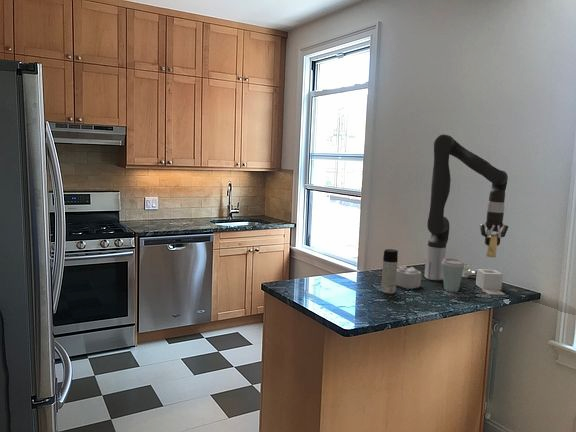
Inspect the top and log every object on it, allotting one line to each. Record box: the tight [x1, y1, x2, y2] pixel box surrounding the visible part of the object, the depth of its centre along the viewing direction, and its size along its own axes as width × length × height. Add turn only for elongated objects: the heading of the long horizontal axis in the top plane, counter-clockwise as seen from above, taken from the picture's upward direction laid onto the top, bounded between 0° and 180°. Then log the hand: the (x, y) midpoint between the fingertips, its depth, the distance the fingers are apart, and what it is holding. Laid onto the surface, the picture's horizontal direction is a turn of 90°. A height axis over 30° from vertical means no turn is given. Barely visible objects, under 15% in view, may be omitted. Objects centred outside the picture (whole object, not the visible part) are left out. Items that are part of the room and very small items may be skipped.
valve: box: [462, 263, 477, 281], centre depth 256 cm, size 7×7×12 cm
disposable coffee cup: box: [442, 257, 466, 293], centre depth 231 cm, size 11×11×15 cm
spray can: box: [380, 248, 399, 294], centre depth 224 cm, size 7×7×20 cm
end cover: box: [486, 233, 498, 258], centre depth 237 cm, size 4×4×11 cm
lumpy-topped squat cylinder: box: [396, 265, 422, 290], centre depth 239 cm, size 10×13×9 cm
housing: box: [475, 268, 504, 291], centre depth 239 cm, size 9×9×8 cm
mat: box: [482, 289, 506, 296], centre depth 230 cm, size 8×7×1 cm
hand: (492, 244), depth 237 cm, fingers closed on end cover, 4 cm apart
